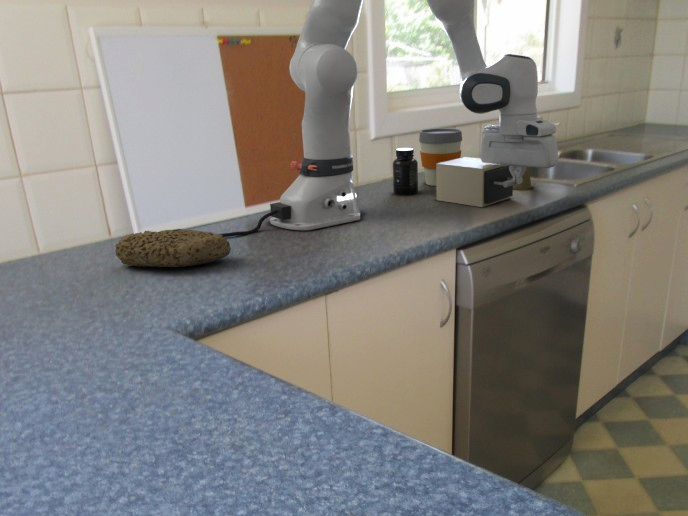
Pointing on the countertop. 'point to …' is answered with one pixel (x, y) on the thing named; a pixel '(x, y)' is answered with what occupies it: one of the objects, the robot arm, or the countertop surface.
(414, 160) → the supplement bottle
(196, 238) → the sponge
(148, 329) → the countertop surface
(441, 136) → the reusable coffee cup
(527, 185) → the cork
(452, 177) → the cabinet
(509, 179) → the drawer
